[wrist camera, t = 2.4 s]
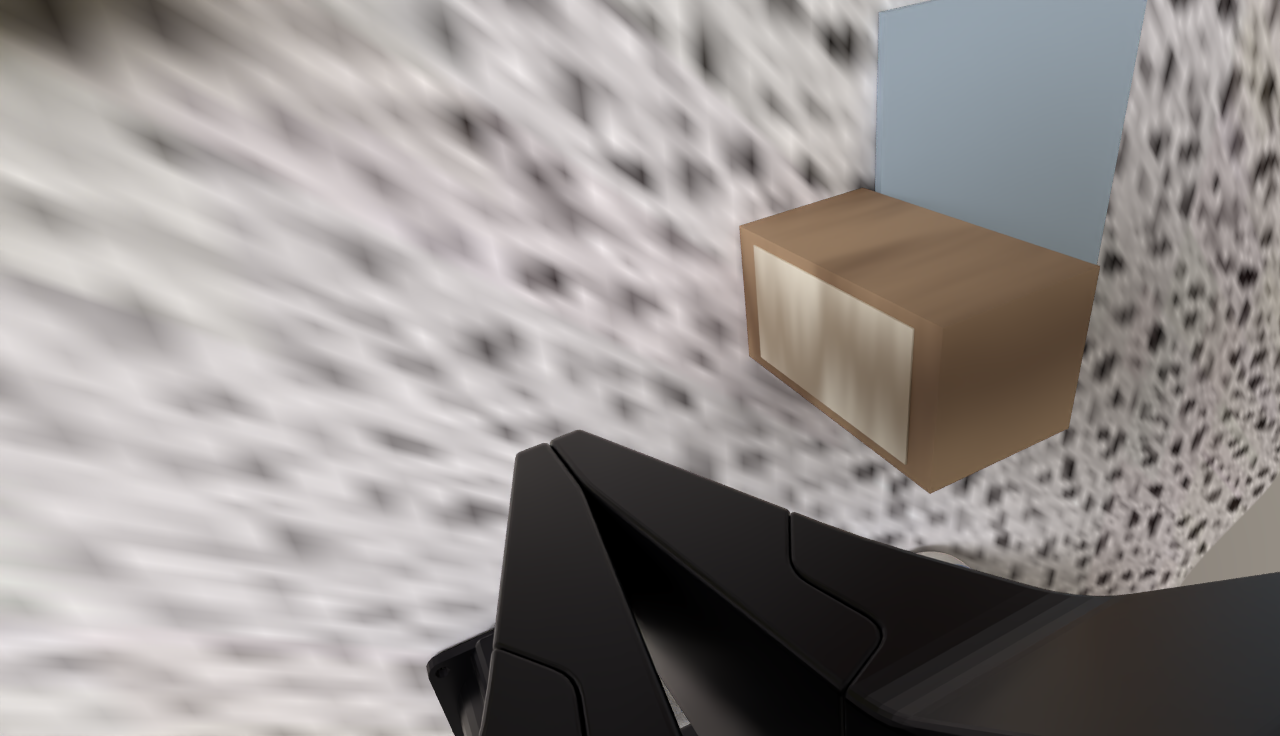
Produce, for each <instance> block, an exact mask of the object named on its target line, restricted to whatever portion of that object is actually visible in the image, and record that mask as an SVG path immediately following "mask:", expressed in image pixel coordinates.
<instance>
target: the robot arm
mask: <svg viewBox="0 0 1280 736" xmlns="http://www.w3.org/2000/svg"><path fill="white" fill-rule="evenodd" d="M426 667H427V673H428V677H429V680H430V682H431V685H432V687H433V689H434V691H435V693H436V696H437V698H438V700H439V702H440V704H441V706H442V709H443V711H444V713H445V715H446V717H447V720H448V722H449V724H450V726H451V728H452V731H453V733H454V735H455V736H1280V572H1275V573H1269V574H1262V575H1255V576H1249V577H1242V578H1236V579H1229V580H1222V581H1215V582H1208V583H1202V584H1195V585H1188V586H1181V587H1175V588H1168V589H1161V590H1154V591H1148V592H1141V593H1134V594H1126V595H1117V596H1087V595H1074V594H1068V593H1062V592H1056V591H1051V590H1046V589H1042V588H1038V587H1034V586H1030V585H1027V584H1023V583H1019V582H1016V581H1012V580H1009V579H1005V578H1002V577H998V576H995V575H991V574H988V573H984V572H980V571H977V570H973V569H970V568H966V567H963V566H959V565H956V564H952V563H949V562H945V561H941V560H938V559H934V558H931V557H927V556H924V555H920V554H917V553H913V552H910V551H906V550H903V549H900V548H897V547H893V546H890V545H887V544H884V543H880V542H877V541H874V540H870V539H867V538H864V537H861V536H858V535H855V534H853V533H850V532H847V531H844V530H841V529H839V528H836V527H833V526H830V525H827V524H825V523H822V522H819V521H817V520H814V519H811V518H809V517H806V516H804V515H801V514H798V513H796V512H793V513H791V514H790V512H789V510H787V509H785V508H782V507H780V506H777V505H775V504H772V503H769V502H767V501H764V500H762V499H759V498H756V497H754V496H751V495H749V494H746V493H743V492H741V491H738V490H736V489H733V488H731V487H728V486H725V485H723V484H720V483H718V482H715V481H712V480H710V479H707V478H705V477H702V476H699V475H697V474H694V473H692V472H689V471H687V470H684V469H681V468H679V467H676V466H674V465H671V464H668V463H666V462H663V461H661V460H658V459H655V458H653V457H650V456H648V455H645V454H643V453H640V452H637V451H635V450H632V449H630V448H627V447H624V446H622V445H619V444H617V443H614V442H611V441H609V440H606V439H604V438H601V437H599V436H596V435H593V434H591V433H588V432H586V431H583V430H575V431H573V432H570V433H568V434H565V435H562V436H560V437H557V438H555V439H553V440H552V441H551V442H550V445H549V444H547V443H542V444H539V445H537V446H534V447H531V448H529V449H526V450H524V451H521V452H519V453H518V454H517V455H516V458H515V465H514V473H513V482H512V490H511V498H510V507H509V515H508V523H507V531H506V540H505V548H504V556H503V565H502V573H501V581H500V590H499V598H498V606H497V615H496V623H495V630H492V631H490V632H488V633H486V634H483V635H481V636H479V637H477V638H474V639H472V640H470V641H468V642H465V643H463V644H461V645H459V646H456V647H454V648H452V649H450V650H447V651H445V652H443V653H441V654H438V655H436V656H435V657H433V658H431V660H430V661H429V662H428V664H427V666H426ZM442 667H445V668H443V669H440V668H442ZM438 669H440V670H438ZM658 674H659V675H658ZM659 676H660V677H661V679H662V680H663V682H664V684H665V685H666V687H667V688H668V690H669V691H670V693H671V694H672V696H673V697H674V699H675V700H676V702H677V703H678V705H679V707H680V708H681V710H682V711H683V713H684V714H685V716H686V717H687V719H688V720H689V722H690V723H691V724H689V725H687V726H685V727H683V728H681V729H680V728H679V725H678V723H677V720H676V718H675V715H674V713H673V710H672V708H671V705H670V703H669V700H668V698H667V695H666V693H665V690H664V688H663V685H662V683H661V680H660V678H659Z"/></svg>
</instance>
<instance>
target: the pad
mask: <svg viewBox="0 0 1280 736" xmlns="http://www.w3.org/2000/svg"><path fill="white" fill-rule="evenodd" d="M1146 3H1147V0H931V1H926V2H922V3H918V4H913V5H909V6H904V7H900V8H895V9H891V10H887V11H882V12H879V36H878V82H877V129H876V176H875V192H878V193H881V194H884V195H887V196H890V197H893V198H896V199H899V200H902V201H905V202H908V203H911V204H914V205H917V206H920V207H923V208H926V209H929V210H932V211H935V212H938V213H941V214H944V215H947V216H950V217H953V218H956V219H959V220H962V221H965V222H968V223H971V224H974V225H977V226H980V227H983V228H986V229H989V230H992V231H995V232H998V233H1001V234H1004V235H1007V236H1010V237H1013V238H1016V239H1019V240H1023V241H1026V242H1029V243H1032V244H1035V245H1038V246H1041V247H1044V248H1047V249H1050V250H1053V251H1056V252H1059V253H1062V254H1065V255H1068V256H1071V257H1074V258H1077V259H1080V260H1083V261H1086V262H1089V263H1092V264H1095V265H1097V261H1098V256H1099V251H1100V246H1101V240H1102V235H1103V230H1104V224H1105V219H1106V214H1107V209H1108V203H1109V198H1110V193H1111V188H1112V182H1113V177H1114V172H1115V166H1116V161H1117V156H1118V151H1119V145H1120V140H1121V135H1122V130H1123V124H1124V119H1125V114H1126V109H1127V103H1128V98H1129V93H1130V87H1131V82H1132V77H1133V72H1134V66H1135V61H1136V56H1137V51H1138V45H1139V40H1140V35H1141V30H1142V24H1143V19H1144V14H1145V8H1146Z"/></svg>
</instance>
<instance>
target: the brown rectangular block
mask: <svg viewBox="0 0 1280 736" xmlns="http://www.w3.org/2000/svg"><path fill="white" fill-rule="evenodd" d="M739 227H740V240H741V253H742V267H743V280H744V292H745V305H746V318H747V331H748V344H749V356H750V357H751V358H753V359H754V360H755V361H757V362H758V363H759V364H761V365H762V366H763V367H764V368H766V369H767V370H768V371H770V372H771V373H772V374H774V375H775V376H776V377H778V378H779V379H780V380H781V381H783V382H784V383H785V384H787V385H788V386H789V387H791V388H792V389H793V390H795V391H796V392H797V393H799V394H800V395H801V396H802V397H804V398H805V399H806V400H808V401H809V402H810V403H812V404H813V405H814V406H816V407H817V408H818V409H819V410H821V411H822V412H823V413H825V414H826V415H827V416H829V417H830V418H831V419H833V420H834V421H835V422H837V423H838V424H839V425H840V426H842V427H843V428H844V429H846V430H847V431H848V432H850V433H851V434H852V435H854V436H855V437H856V438H858V439H859V440H860V441H861V442H863V443H864V444H865V445H867V446H868V447H869V448H871V449H872V450H873V451H875V452H876V453H877V454H878V455H880V456H881V457H882V458H884V459H885V460H886V461H888V462H889V463H890V464H892V465H893V466H894V467H896V468H897V469H898V470H899V471H901V472H902V473H903V474H905V475H906V476H907V477H909V478H910V479H911V480H913V481H914V482H915V483H916V484H918V485H919V486H920V487H922V488H923V489H924V490H926V491H927V492H928V493H930V494H931V493H933V492H935V491H937V490H939V489H941V488H943V487H945V486H948V485H950V484H952V483H954V482H956V481H958V480H960V479H962V478H964V477H967V476H969V475H971V474H973V473H975V472H977V471H979V470H981V469H983V468H986V467H988V466H990V465H992V464H994V463H996V462H998V461H1000V460H1002V459H1005V458H1007V457H1009V456H1011V455H1013V454H1015V453H1017V452H1019V451H1021V450H1024V449H1026V448H1028V447H1030V446H1032V445H1034V444H1036V443H1038V442H1040V441H1043V440H1045V439H1047V438H1049V437H1051V436H1053V435H1055V434H1057V433H1059V432H1062V431H1064V430H1066V429H1068V428H1069V423H1070V418H1071V413H1072V408H1073V403H1074V398H1075V393H1076V387H1077V382H1078V377H1079V372H1080V367H1081V362H1082V357H1083V352H1084V346H1085V341H1086V336H1087V331H1088V326H1089V321H1090V316H1091V311H1092V305H1093V300H1094V295H1095V290H1096V285H1097V280H1098V275H1099V270H1100V266H1098V265H1095V264H1092V263H1089V262H1086V261H1083V260H1080V259H1077V258H1074V257H1071V256H1068V255H1065V254H1062V253H1059V252H1056V251H1053V250H1050V249H1047V248H1044V247H1041V246H1038V245H1035V244H1032V243H1029V242H1026V241H1023V240H1019V239H1016V238H1013V237H1010V236H1007V235H1004V234H1001V233H998V232H995V231H992V230H989V229H986V228H983V227H980V226H977V225H974V224H971V223H968V222H965V221H962V220H959V219H956V218H953V217H950V216H947V215H944V214H941V213H938V212H935V211H932V210H929V209H926V208H923V207H920V206H917V205H914V204H911V203H908V202H905V201H902V200H899V199H896V198H893V197H890V196H887V195H884V194H881V193H878V192H875V191H871V190H868V189H865V188H860V189H857V190H854V191H850V192H847V193H844V194H841V195H837V196H834V197H831V198H828V199H825V200H821V201H818V202H815V203H812V204H808V205H805V206H802V207H799V208H795V209H792V210H789V211H786V212H783V213H779V214H776V215H773V216H770V217H766V218H763V219H760V220H757V221H754V222H750V223H747V224H744V225H741V226H739Z"/></svg>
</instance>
